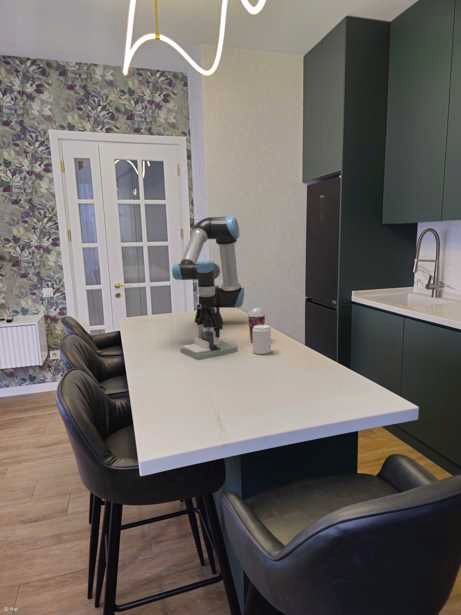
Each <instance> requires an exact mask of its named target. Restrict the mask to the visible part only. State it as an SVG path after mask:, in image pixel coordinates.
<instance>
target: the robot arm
mask: <svg viewBox="0 0 461 615" xmlns="http://www.w3.org/2000/svg"><path fill="white" fill-rule="evenodd" d="M239 238H240V228H239V222H238V220H237V219H236V217H234V216H215V217H212V216H211V217H204V218H202V219H201V220H199V221H198V222H197V223H195V224H194V225H193V227H192V228H191V230H190V233H189V240H188V243H187V246H186V248H185V250H184V253H183V256H182V258H181V261H179V262H180V263H175V264H173V265H172V268H171V272H172V278H173V279H174V280H178V281H189V280H190V281H193V280H194V281H195V280H197V291H198V293H197V294H198V304H197V307H196V314H195V319H194V323H196V325H197V336H198V337H197V338H199V339H201V332H205V330H204V329H205V328H213V331H212V332H213V336H214V345H216V344H220V341H221V340H220V338H221V336H220V335H221V332H220V330H223V325H224V321H223V317H222V314H221V310H220V308H227V309H229V308H231V309H232V308H234V309H235V308H242V307H243V304H244V298H245V288H244V287H242V285H241V283H240V282H239V278H238V270H237V269H238V268H237V258H236V247H235V245H236V242H238V239H239ZM208 240H215V244H216V245H218V246H219V257H220V265H221V267H220V266H219V264H217V263H216V262H214V261H212V260H199V257H200V255H201V251H202V249H203V246H204V244H205V243H206V242H207V241H208ZM220 274H221V275H222V284H221V286H219V285H215V284H216V283H215V279H217V278H218V277H219V276H220Z"/></svg>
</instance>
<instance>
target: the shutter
mask: <svg viewBox="0 0 461 615" xmlns="http://www.w3.org/2000/svg"><path fill="white" fill-rule="evenodd" d="M193 341H194V343H192V344H187V345H186V344H185V345H182V347H181V348H184V349H186V350H189V351H191V352H193V353H196V354H199V353H204V352H208V351H210V349H209V342H207V341H204V340H201V339H199V338H198V337H194V340H193Z"/></svg>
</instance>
